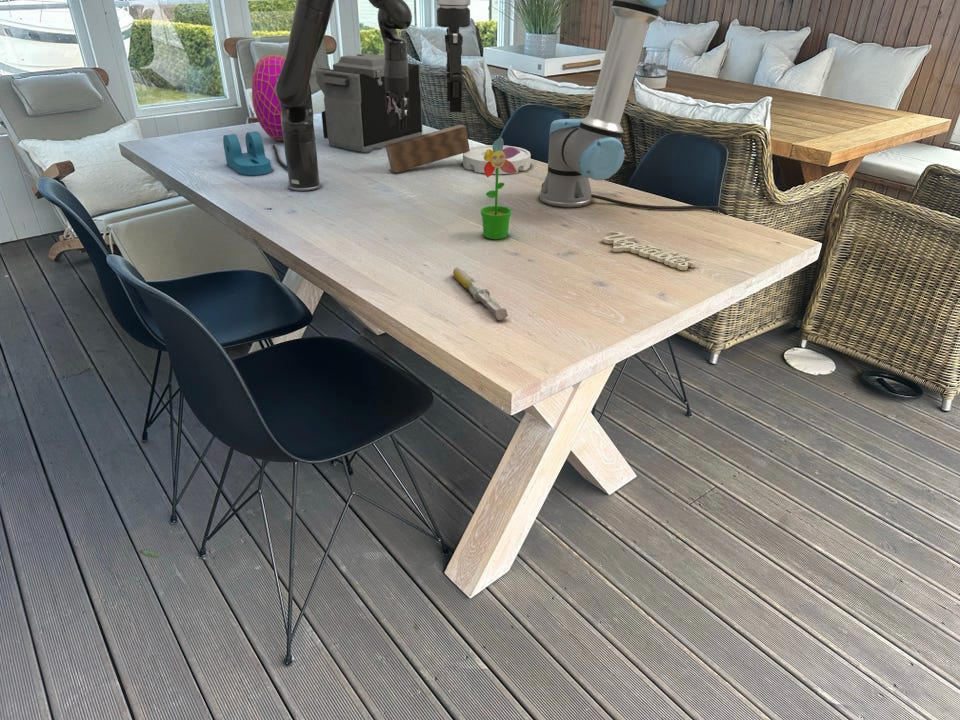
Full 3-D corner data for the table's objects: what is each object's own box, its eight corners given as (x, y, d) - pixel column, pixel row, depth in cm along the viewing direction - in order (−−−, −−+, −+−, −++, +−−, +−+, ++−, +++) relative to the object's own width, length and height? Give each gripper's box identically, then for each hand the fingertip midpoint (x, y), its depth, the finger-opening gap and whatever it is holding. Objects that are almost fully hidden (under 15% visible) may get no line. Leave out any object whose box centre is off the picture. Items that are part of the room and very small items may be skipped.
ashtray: (464, 155, 246) (464, 144, 244) (529, 157, 246) (529, 145, 244) (461, 173, 226) (461, 161, 224) (531, 174, 226) (531, 162, 224)
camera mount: (227, 164, 233) (221, 132, 227) (257, 160, 238) (252, 129, 233) (244, 176, 220) (239, 143, 215) (276, 172, 225) (271, 139, 220)
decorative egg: (293, 132, 276) (283, 50, 261) (319, 140, 264) (310, 56, 249) (249, 139, 265) (236, 54, 250) (273, 148, 253) (261, 60, 238)
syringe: (449, 274, 155) (449, 263, 153) (465, 272, 156) (464, 260, 154) (490, 323, 135) (491, 310, 133) (508, 319, 136) (508, 307, 134)
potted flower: (487, 243, 172) (489, 140, 159) (473, 233, 178) (473, 134, 165) (519, 237, 176) (524, 137, 163) (505, 227, 182) (508, 130, 169)
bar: (464, 149, 238) (459, 124, 234) (470, 151, 234) (465, 126, 230) (390, 170, 229) (385, 145, 225) (395, 173, 225) (390, 147, 221)
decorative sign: (589, 238, 172) (614, 230, 178) (588, 242, 173) (613, 233, 179) (677, 270, 156) (702, 259, 161) (677, 274, 156) (701, 263, 162)
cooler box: (385, 129, 283) (380, 49, 267) (426, 136, 272) (424, 54, 256) (318, 145, 257) (309, 59, 242) (361, 155, 246) (354, 64, 231)
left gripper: (376, 72, 218) (378, 124, 226) (394, 78, 207) (395, 134, 215) (398, 71, 221) (399, 123, 229) (416, 77, 211) (417, 132, 219)
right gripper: (435, 3, 164) (436, 97, 175) (438, 10, 143) (440, 116, 154) (466, 3, 165) (466, 96, 176) (474, 10, 143) (473, 116, 154)
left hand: (397, 128), depth 222 cm, fingers open, 8 cm apart
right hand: (454, 106), depth 165 cm, fingers open, 13 cm apart
